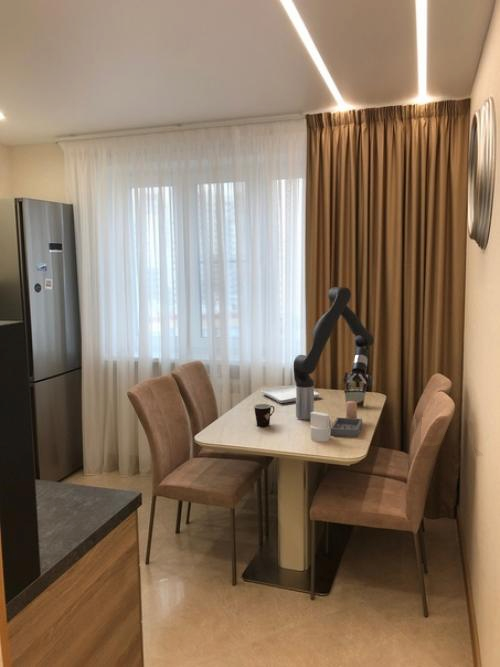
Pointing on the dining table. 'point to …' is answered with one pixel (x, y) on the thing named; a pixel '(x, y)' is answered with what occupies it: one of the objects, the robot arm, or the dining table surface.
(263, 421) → the coffee mug
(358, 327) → the robot arm
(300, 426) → the dining table surface
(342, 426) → the tray
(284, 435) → the dining table surface
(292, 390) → the closed laptop
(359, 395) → the food container
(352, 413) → the tan upright block
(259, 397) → the dining table surface
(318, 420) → the cylinder with rectangular tab
